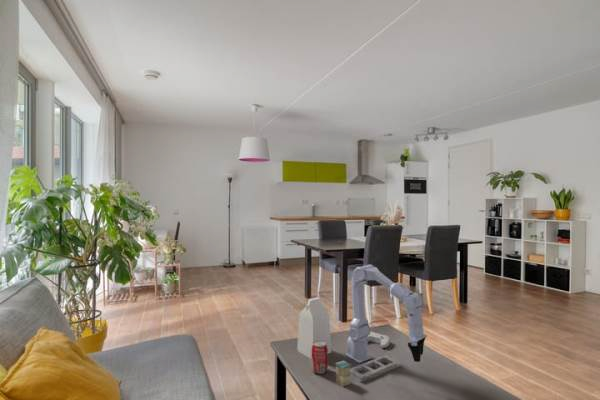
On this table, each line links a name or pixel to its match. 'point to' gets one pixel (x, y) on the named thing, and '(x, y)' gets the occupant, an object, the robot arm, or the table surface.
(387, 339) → the game controller
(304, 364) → the table surface
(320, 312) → the milk
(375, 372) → the grey compartment tray
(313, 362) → the soda can
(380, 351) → the table surface
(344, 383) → the peg
